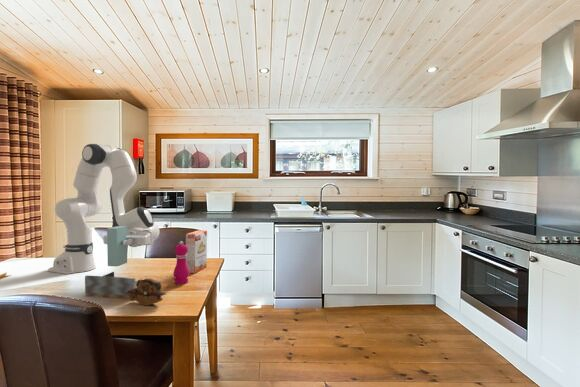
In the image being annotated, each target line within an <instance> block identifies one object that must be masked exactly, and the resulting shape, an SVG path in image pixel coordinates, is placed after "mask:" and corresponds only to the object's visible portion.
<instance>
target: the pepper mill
mask: <svg viewBox="0 0 580 387" xmlns="http://www.w3.org/2000/svg"><path fill="white" fill-rule="evenodd" d="M187 251H188V248H187V246H186V244H184V242H183V241H182V240H180V241H179V244H178V245H176V246H175V248H174V253H175V259H176V264H175V267H174V269H173V277H174V278H175V279H174V284H175V285H185V284H188V283H189V278H188V277H189V276H190V273H189V269H188V267H187V264H186V257H187V256H186V255H187V254H186V253H187Z"/></svg>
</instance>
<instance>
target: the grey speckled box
mask: <svg viewBox="0 0 580 387" xmlns="http://www.w3.org/2000/svg"><path fill="white" fill-rule="evenodd" d="M137 281H138V280H136V277H121V276H115V271H112V272H110V273H106V274H104V275H85V276H84V292H85V294H84V296H85V297H90V298H91V297H92V298H93V297H94V298H105V299H107V298H108V299H122V300H130V298H129V296H128V293H127V291H129V290H131V289H133V288H137V286H136V284H137Z"/></svg>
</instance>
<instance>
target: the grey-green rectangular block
mask: <svg viewBox="0 0 580 387" xmlns="http://www.w3.org/2000/svg"><path fill="white" fill-rule="evenodd" d="M106 235H107V244H106V245H107V247H106V248H107V252H106V253H107V267H121V266H123V265H125V264H127V263H128V245H127V244H126V245H121V241H122V240H127V226H116V227H113V226H112V227H107V228H106Z"/></svg>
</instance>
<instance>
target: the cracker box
mask: <svg viewBox="0 0 580 387" xmlns="http://www.w3.org/2000/svg"><path fill="white" fill-rule="evenodd" d="M185 245H186V246H187V248H188V251H187V253H186V254H187V255H186V256H187V257H186V264H187V267H188V269H189V274H196V273H198V272H200V271H202V270H204V269H205V268H207V266H208V265H207V260H208V259H207V258H208V254H207V253H208V252H207V251H208V230H201V229H199V230H195V231H192V232H188V233H186V234H185Z"/></svg>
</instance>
